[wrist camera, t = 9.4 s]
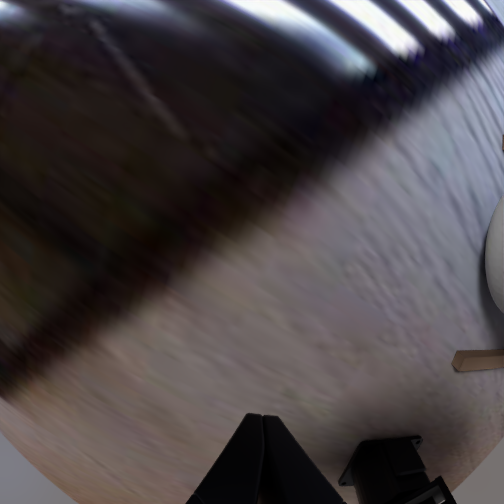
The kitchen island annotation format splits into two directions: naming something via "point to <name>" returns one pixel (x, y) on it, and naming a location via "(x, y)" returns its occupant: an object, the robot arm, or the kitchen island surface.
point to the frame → (479, 355)
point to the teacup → (496, 256)
